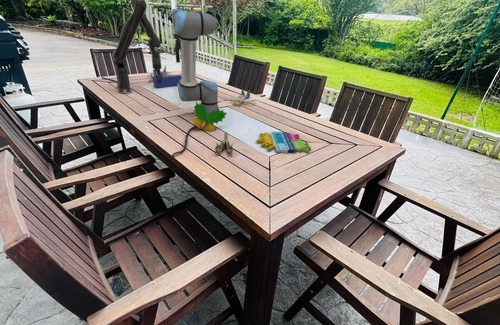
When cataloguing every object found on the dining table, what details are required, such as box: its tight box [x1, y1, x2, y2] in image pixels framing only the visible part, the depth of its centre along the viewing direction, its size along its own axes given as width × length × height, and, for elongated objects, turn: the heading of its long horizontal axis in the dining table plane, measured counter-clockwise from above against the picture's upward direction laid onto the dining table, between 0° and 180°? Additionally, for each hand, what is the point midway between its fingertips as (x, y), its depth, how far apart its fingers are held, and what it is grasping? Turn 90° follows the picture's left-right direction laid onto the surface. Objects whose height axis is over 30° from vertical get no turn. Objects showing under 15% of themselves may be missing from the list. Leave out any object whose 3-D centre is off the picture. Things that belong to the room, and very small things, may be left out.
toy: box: [223, 89, 257, 106], centre depth 219 cm, size 28×7×30 cm
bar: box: [152, 74, 182, 89], centre depth 247 cm, size 27×5×8 cm, turn 133°
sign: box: [256, 131, 312, 154], centre depth 152 cm, size 26×2×30 cm
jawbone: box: [214, 131, 234, 156], centre depth 136 cm, size 9×15×10 cm
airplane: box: [146, 65, 173, 83], centre depth 274 cm, size 38×31×10 cm
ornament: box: [191, 101, 228, 132], centre depth 162 cm, size 21×8×15 cm, turn 105°
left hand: (158, 82), depth 242 cm, fingers closed on bar, 5 cm apart
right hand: (180, 64), depth 201 cm, fingers open, 13 cm apart
